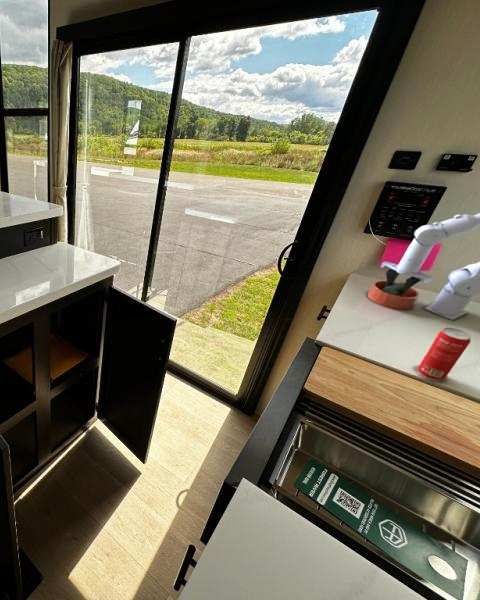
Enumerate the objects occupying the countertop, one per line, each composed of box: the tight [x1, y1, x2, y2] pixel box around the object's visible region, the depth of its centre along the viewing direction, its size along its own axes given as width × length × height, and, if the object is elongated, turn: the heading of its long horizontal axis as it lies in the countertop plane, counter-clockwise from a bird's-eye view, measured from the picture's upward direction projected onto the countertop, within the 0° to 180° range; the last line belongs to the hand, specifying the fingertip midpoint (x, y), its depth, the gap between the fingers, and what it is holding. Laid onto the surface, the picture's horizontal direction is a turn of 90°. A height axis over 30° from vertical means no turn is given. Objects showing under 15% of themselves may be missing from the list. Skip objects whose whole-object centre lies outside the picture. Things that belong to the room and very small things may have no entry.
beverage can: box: [416, 327, 472, 382], centre depth 87 cm, size 6×6×15 cm
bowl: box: [367, 279, 420, 310], centre depth 122 cm, size 13×13×5 cm
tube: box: [382, 281, 405, 296], centre depth 121 cm, size 9×4×4 cm, turn 114°
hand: (394, 290), depth 121 cm, fingers closed on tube, 4 cm apart
